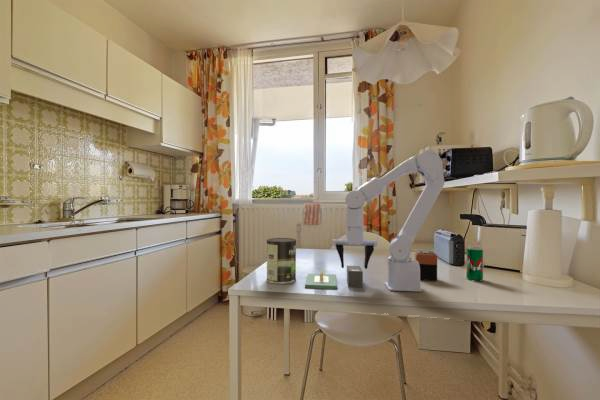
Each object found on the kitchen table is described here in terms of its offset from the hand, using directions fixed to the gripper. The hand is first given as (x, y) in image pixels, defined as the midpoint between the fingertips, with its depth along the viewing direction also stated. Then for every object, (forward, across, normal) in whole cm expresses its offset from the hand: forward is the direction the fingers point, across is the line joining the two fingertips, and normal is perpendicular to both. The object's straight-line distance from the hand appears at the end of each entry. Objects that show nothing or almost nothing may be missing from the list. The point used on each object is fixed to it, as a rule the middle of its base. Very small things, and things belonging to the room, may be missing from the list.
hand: (354, 267), depth 96 cm
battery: (+5, -26, -9) cm, 28 cm away
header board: (+5, +11, 0) cm, 12 cm away
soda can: (+5, -43, -10) cm, 45 cm away
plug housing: (+5, 0, 0) cm, 5 cm away
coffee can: (+6, +25, -1) cm, 26 cm away
